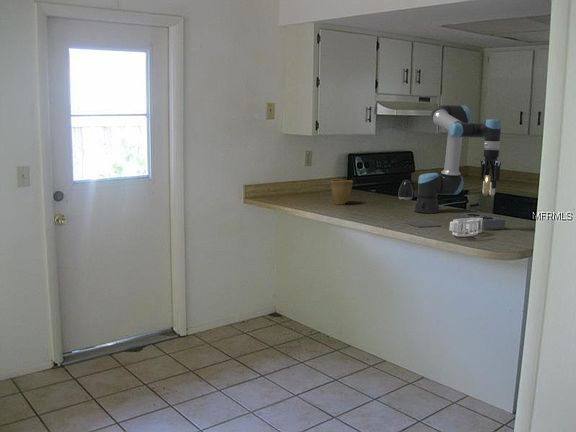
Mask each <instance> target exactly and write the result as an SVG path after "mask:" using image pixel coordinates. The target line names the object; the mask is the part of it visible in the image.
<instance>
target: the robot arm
mask: <svg viewBox="0 0 576 432" xmlns="http://www.w3.org/2000/svg"><path fill="white" fill-rule="evenodd" d="M430 113H431V114H430V120H431V122H432V123H433V124H434V125H436V126H438V127H440V126H441V127H442V128H444V129H446V130H447V140H446V148H445V150H446V151H445V158H444V166H443V170H442V171H441V172H440V174H439V173H437V172H429V173H422V174H420V175H419V176H418V181H417V199H416V201H415V205H414V206H413V211H414V212H417V213H423V214H434V213H435V214H436V213H440V205H439V203H438V195H450V196H451V195H452V196H453V195H458V194H460V193H461V191H462V190H463V187H464V182H465V181H464V177H463V176H462V175H461V172H460V170H459V169H460V161H461V153H462V144H463V138H484V147H483V148H484V150H483V157H484V160H480V176H479V179H480V180H482V194H483V193H484V178H485V175H491V181H490V194H489V195H493V196H494V195H495V194H496V186H497V182H500V175H501V165H502V162H501V161H498V158H499V157H500V148H501V147H500V144H501V143H500V141H501V132H502V131H501V130H502V121H501V119H492V118H491V119H490V118H489V119H486V120H485V122H477V123H476V122H472V113H471V110H470V108H469V107H468V106H467V105H460V104H456V105H453V104H451V105H450V104H442V105H439V106H438V105H437V106H436V107H435V108H433V110H432V111H431V112H430Z"/></svg>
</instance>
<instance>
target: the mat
mask: <svg viewBox="0 0 576 432" xmlns="http://www.w3.org/2000/svg"><path fill="white" fill-rule="evenodd" d="M404 224H406V225H409V226H413V227H416V228H436V227H438V228H439V227H442V225H441V224H437V223H434V222H430V221H427V220H425V221H424V220H423V221H405V222H404Z"/></svg>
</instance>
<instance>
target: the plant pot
mask: <svg viewBox="0 0 576 432" xmlns="http://www.w3.org/2000/svg"><path fill="white" fill-rule="evenodd" d="M353 183H354V181H353V180H351V179H349V180H348V179H331V180H330V189H331V195H332V199H333V201H334V204H335V203H339V204H345V203H348V201H349V198H350V195H351V192H352V188H353Z"/></svg>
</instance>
